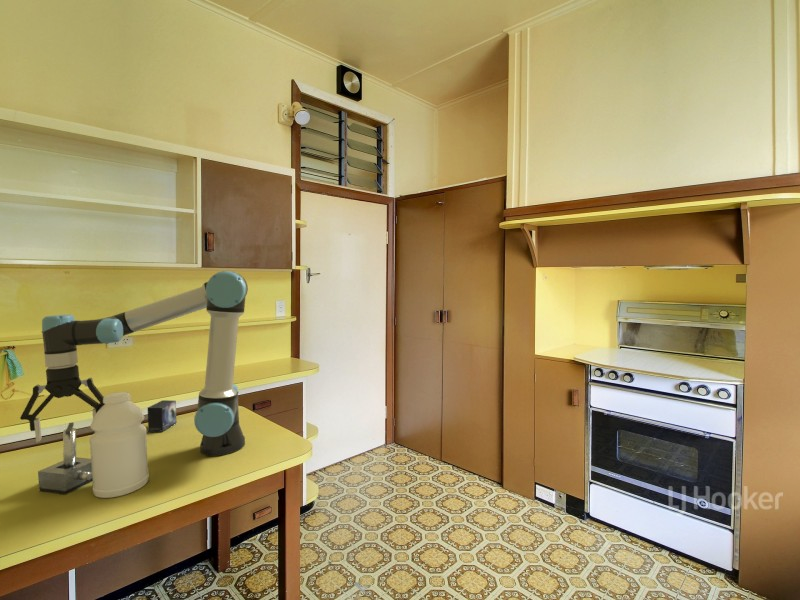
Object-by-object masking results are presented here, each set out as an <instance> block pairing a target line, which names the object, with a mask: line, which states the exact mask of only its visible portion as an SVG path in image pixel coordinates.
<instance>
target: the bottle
mask: <svg viewBox="0 0 800 600" xmlns="http://www.w3.org/2000/svg"><path fill="white" fill-rule="evenodd" d="M131 399H132V398H131V393H130V392H127V391H126V392H125V391H123V392H121V391H120V392H115V393H109V394H106V395H105V396H104V395H103V403H104V404H105V405H103V406H102V407H101V408H100V409H99V411H98V412H97V413H96V415H95V416H94V418H93V417H92V421H91V424H90V425H89V426H90V427H89V429H90V430H92V431H93V432H94V433H93V434H92V435H91V436H90V438H89V447H90V459H91V465H92V480H93V481H92V493H93V495H94V497H96V498H99V499H107V498H108V499H109V498H112V499H113V498H116V497H122V496H125V495H128V494H131V493H133V492H135V491H137V490H139V489H141V488H143V487H144V486H145V485H146V484H147V483H148V481H149V477H150V474H149V465H148V446H147V441H148V440H147V427H146V426H144V424H142V422H143V421H144V420H145V414H144V413H143V411H142V410H141V408H140V406H138V405H137V404H136V403H134V402H133V401H131Z"/></svg>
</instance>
